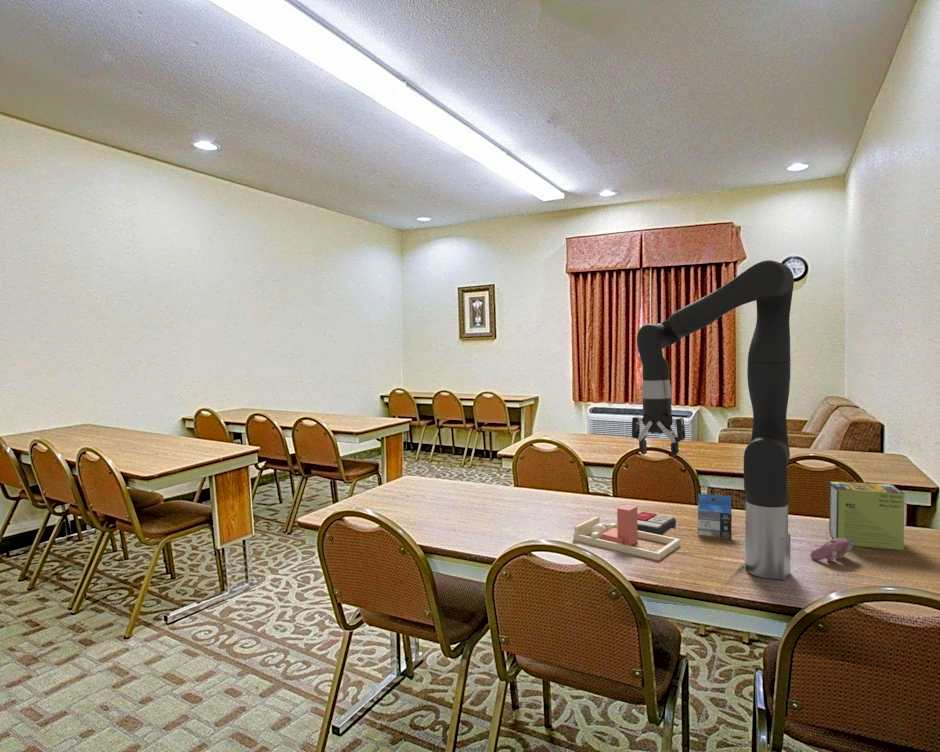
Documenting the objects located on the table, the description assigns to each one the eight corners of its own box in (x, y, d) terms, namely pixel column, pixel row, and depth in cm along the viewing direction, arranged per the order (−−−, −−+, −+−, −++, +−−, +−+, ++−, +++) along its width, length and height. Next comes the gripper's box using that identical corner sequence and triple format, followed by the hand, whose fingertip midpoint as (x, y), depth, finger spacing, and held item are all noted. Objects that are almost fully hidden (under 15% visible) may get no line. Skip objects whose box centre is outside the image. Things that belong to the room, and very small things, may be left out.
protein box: (904, 550, 152) (905, 493, 151) (837, 545, 157) (838, 489, 156) (891, 538, 162) (892, 484, 161) (828, 533, 167) (828, 480, 166)
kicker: (639, 540, 160) (638, 505, 159) (627, 547, 154) (627, 511, 154) (613, 535, 165) (613, 501, 164) (601, 541, 160) (601, 506, 159)
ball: (605, 520, 165) (594, 524, 167) (598, 523, 162) (587, 528, 164) (611, 533, 164) (600, 537, 166) (604, 537, 161) (593, 541, 163)
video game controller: (822, 569, 144) (835, 549, 141) (807, 556, 148) (819, 536, 145) (847, 562, 148) (860, 542, 145) (831, 550, 152) (844, 530, 149)
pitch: (680, 550, 156) (680, 531, 155) (658, 565, 145) (658, 546, 145) (597, 531, 172) (597, 515, 172) (573, 544, 162) (573, 527, 161)
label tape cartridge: (697, 539, 164) (697, 496, 163) (697, 535, 168) (697, 493, 167) (731, 542, 161) (731, 499, 160) (730, 538, 164) (730, 495, 164)
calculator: (676, 516, 176) (658, 526, 164) (676, 529, 176) (658, 541, 164) (641, 510, 182) (622, 519, 171) (641, 523, 182) (622, 534, 171)
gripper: (687, 395, 155) (689, 454, 156) (637, 395, 165) (639, 451, 165) (677, 397, 150) (679, 459, 150) (626, 397, 159) (628, 455, 160)
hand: (658, 454), depth 158 cm, fingers open, 8 cm apart
